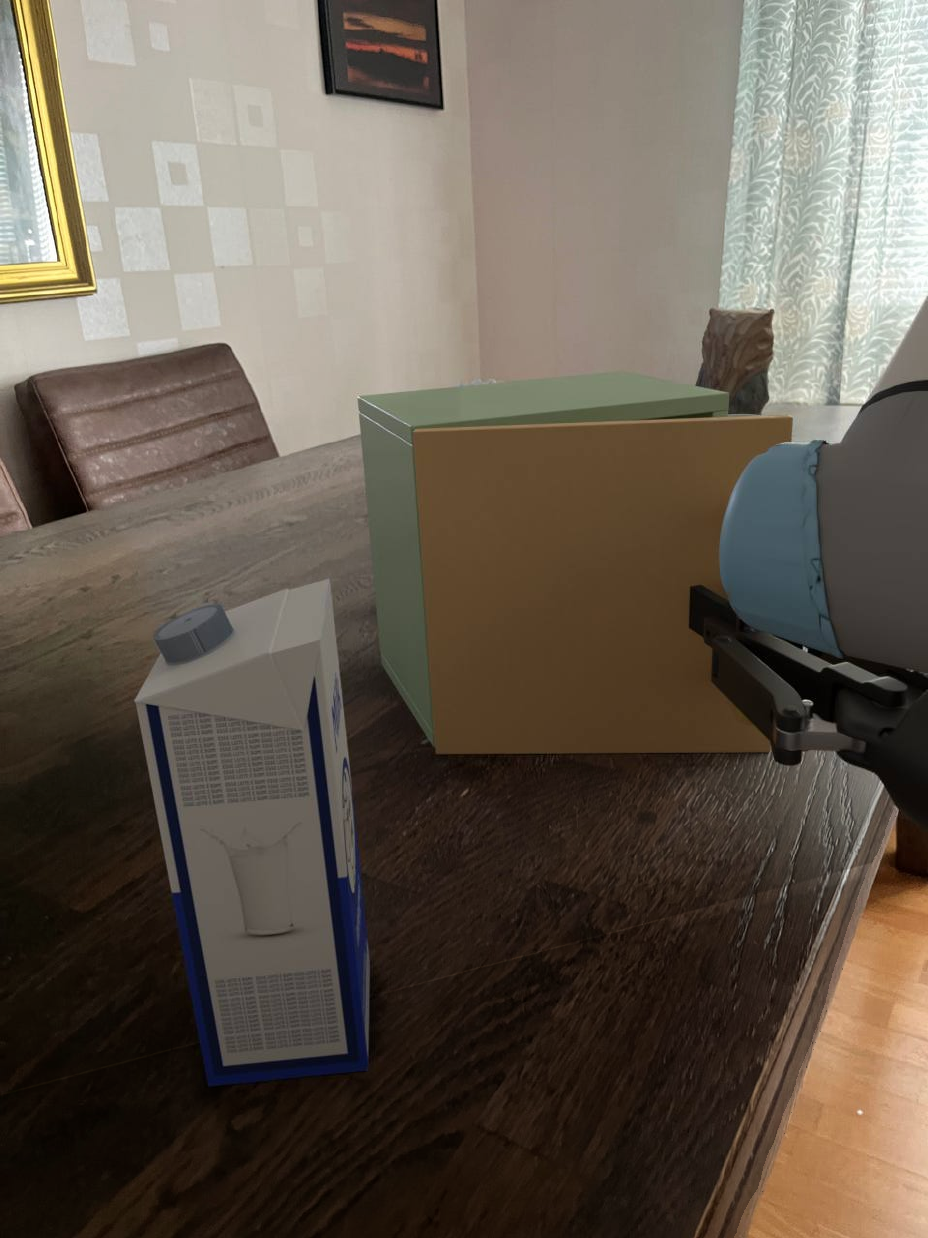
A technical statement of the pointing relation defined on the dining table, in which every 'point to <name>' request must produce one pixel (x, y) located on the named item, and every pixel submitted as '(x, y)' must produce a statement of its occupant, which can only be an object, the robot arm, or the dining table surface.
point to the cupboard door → (579, 583)
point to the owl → (738, 357)
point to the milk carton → (261, 835)
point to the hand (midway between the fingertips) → (715, 603)
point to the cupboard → (473, 406)
